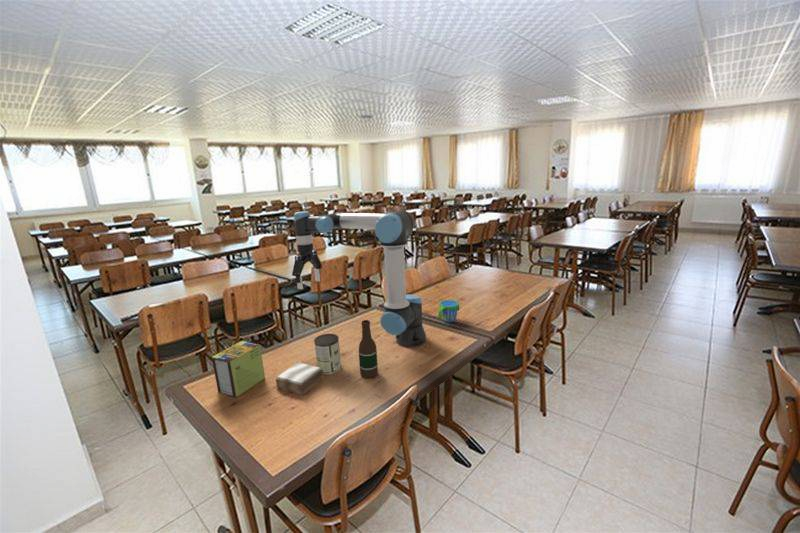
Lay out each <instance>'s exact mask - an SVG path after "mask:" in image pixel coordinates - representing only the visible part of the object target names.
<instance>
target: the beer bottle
mask: <svg viewBox="0 0 800 533" xmlns="http://www.w3.org/2000/svg"><path fill="white" fill-rule="evenodd" d="M360 323H361V324H360V325H361V326H362V327H361V331H362V332H361V333H362V334H361V337H362V338H361V340H360V341H359V344H358V357H359V360H358V361H359V371H360V373H359V374H360V377H361V378H363V379H364V380H372V379H375V378H376V377H378V376H379V375H378V374H379V370H378V369H379V368H378V354H377V353H378V352H377V351H378V350H377V344H376V342H375V340H374V339H373V337H372V334H371V321H370V320H368V319H363V320H362V321H361V322H360Z"/></svg>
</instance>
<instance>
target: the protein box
mask: <svg viewBox="0 0 800 533" xmlns="http://www.w3.org/2000/svg"><path fill="white" fill-rule="evenodd" d="M211 361H212V366H213V372H214V377H215V378H214V379H215V382H216V383H215V384H216V388H217V392H218V393H220V392H221V393H220V394H223V393H224V394H225V395H227V396H231V397H233V396H234V398H237V396H238V397H239V396H240V394H241V395H242V394H244V393H245V392H246V391H248V390H249V389H251V388H252V387H254V386H255V385H257V384H258V383H259V382H261V381H262V380H264V379H265V378H266V376H265V375H266V374H265V369H264V363H263V356H262V349H261V344H260V343H255V342H249V341H245V340H240V341H239V342H237V343H235V344H233V345H231V346H230V347H227V348H226V349H224V350H223V351H221V352H218V353H217V354H214V355H213V356H212V357H211ZM224 394H223V395H224Z"/></svg>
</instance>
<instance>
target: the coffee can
mask: <svg viewBox="0 0 800 533" xmlns="http://www.w3.org/2000/svg"><path fill="white" fill-rule="evenodd" d="M313 343H314V349H315V357H316V358H315V359H316V365H317V366H316V367H319V368H321V369H322V370H323V375H332V374H335V373H337V372H339V371H340V370H341V368H342V363H341V362H342V361H341V352H340V343H339V336H338V335H337V334H336V333H335V334H334V333H325V334H321V335H318V336H316V337H315V338H314V340H313Z"/></svg>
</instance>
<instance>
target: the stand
mask: <svg viewBox="0 0 800 533" xmlns="http://www.w3.org/2000/svg"><path fill="white" fill-rule="evenodd" d="M323 379H324V374H323V370H322V369H321V368H319V367H317V366H315V365H310V364H306V363H301V362H296V363H295V364H293V365H292V366H290V367H288V368H287V369H286V370H284V371H283V372H282V373H280V374H279V375H278V376H277V378H275V382H276V389H279V390H282V391H285V392H290V393H292V394H296V395H297V394H298V395H301V396H304V395H305V394H306V393H307V392H309V391H310V390H311V389H312V388H313V387H315V386H316V385H317V384H318V383H320V382H321V381H322V380H323Z"/></svg>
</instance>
